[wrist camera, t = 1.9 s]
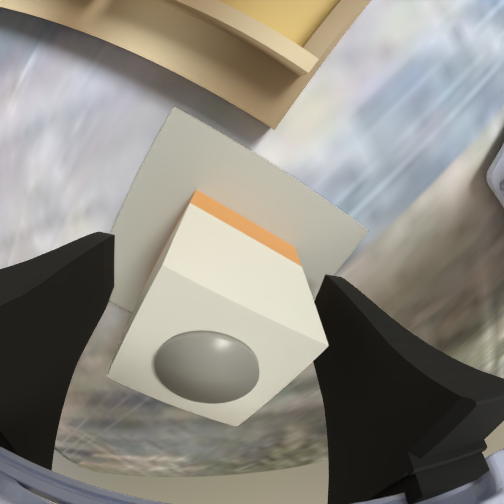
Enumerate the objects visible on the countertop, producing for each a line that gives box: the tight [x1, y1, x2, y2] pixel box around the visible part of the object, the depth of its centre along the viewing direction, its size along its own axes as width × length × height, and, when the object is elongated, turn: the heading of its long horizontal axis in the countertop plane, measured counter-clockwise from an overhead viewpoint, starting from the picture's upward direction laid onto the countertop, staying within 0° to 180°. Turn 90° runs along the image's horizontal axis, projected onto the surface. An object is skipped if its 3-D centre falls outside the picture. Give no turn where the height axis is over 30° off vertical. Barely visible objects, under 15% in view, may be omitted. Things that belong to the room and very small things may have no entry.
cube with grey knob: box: [107, 190, 329, 427], centre depth 9 cm, size 4×4×5 cm
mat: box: [109, 107, 369, 312], centre depth 11 cm, size 8×8×1 cm
